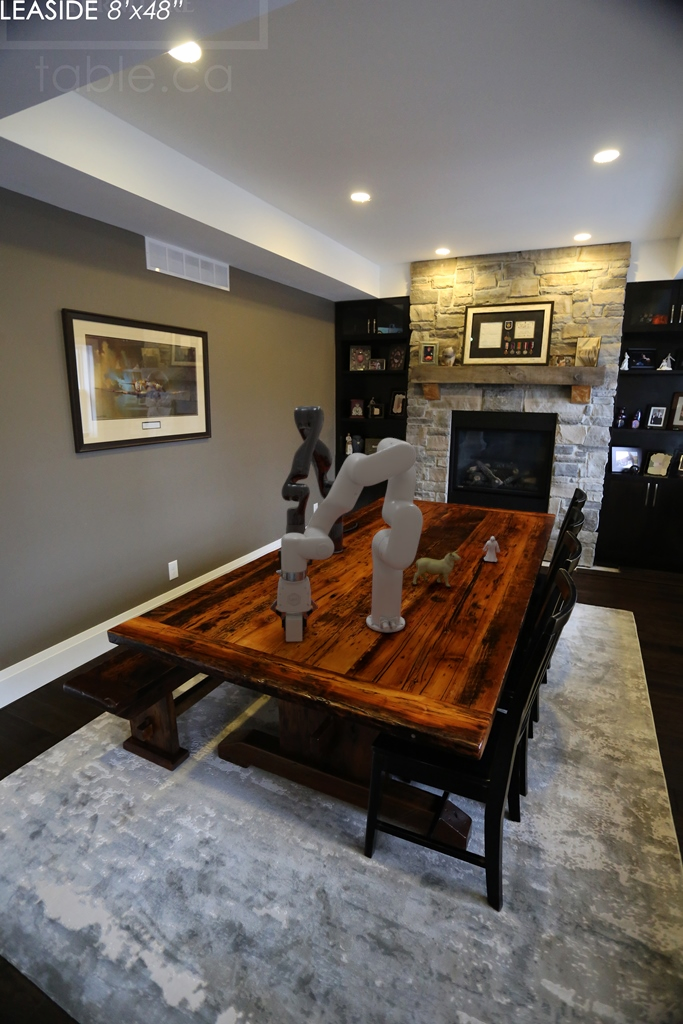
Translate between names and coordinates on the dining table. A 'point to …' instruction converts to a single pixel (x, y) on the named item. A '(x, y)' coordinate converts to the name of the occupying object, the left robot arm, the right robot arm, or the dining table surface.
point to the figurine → (491, 550)
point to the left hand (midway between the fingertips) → (295, 575)
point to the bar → (293, 626)
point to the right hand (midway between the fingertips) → (294, 628)
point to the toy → (436, 567)
